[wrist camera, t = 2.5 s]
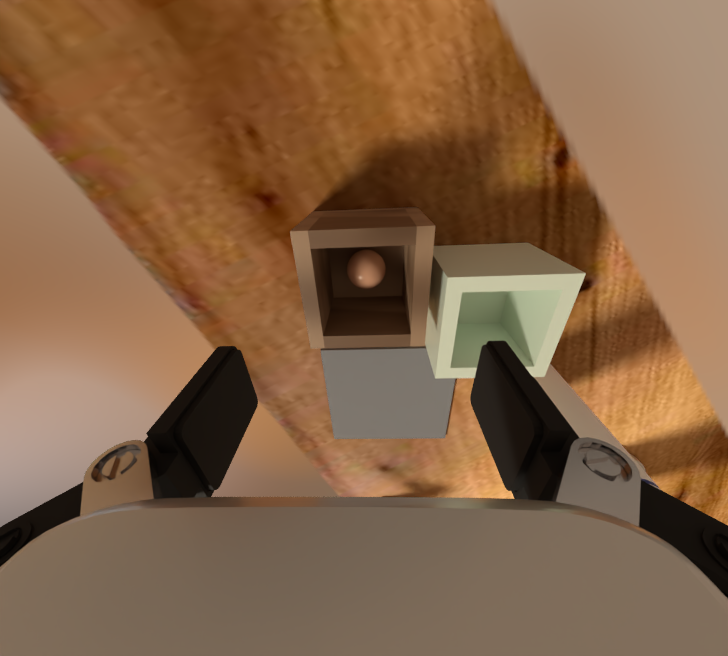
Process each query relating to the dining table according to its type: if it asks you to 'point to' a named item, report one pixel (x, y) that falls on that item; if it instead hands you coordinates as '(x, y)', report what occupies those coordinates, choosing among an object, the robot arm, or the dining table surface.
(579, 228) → the dining table surface
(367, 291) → the walnut cup
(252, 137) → the dining table surface
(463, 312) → the green cup
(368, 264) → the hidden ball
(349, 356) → the felt mat
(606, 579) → the robot arm
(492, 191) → the dining table surface
